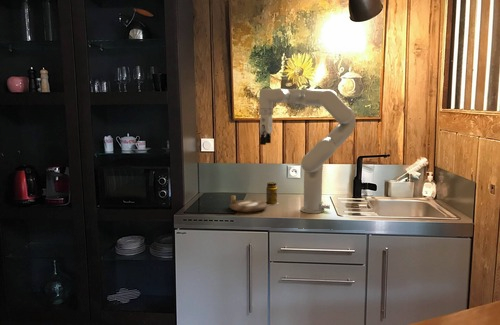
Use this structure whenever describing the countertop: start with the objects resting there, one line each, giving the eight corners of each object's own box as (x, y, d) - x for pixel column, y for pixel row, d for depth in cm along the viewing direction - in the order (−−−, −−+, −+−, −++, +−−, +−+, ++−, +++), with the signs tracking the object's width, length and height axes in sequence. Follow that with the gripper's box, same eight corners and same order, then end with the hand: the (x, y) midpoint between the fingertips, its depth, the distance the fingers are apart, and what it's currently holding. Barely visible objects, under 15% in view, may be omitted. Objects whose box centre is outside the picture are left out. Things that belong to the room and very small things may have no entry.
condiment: (279, 203, 241) (280, 183, 239) (268, 205, 236) (268, 184, 235) (272, 201, 247) (272, 181, 245) (260, 203, 242) (260, 182, 241)
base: (261, 207, 232) (261, 205, 232) (255, 213, 221) (255, 210, 220) (241, 206, 235) (241, 204, 235) (234, 211, 224) (234, 209, 224)
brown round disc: (270, 203, 234) (270, 194, 233) (260, 212, 215) (260, 201, 215) (236, 201, 240) (236, 192, 239) (224, 209, 221) (224, 199, 221)
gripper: (268, 112, 216) (267, 145, 218) (276, 112, 232) (275, 142, 234) (254, 112, 218) (254, 145, 220) (263, 111, 234) (263, 142, 237)
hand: (265, 143), depth 227 cm, fingers open, 9 cm apart
